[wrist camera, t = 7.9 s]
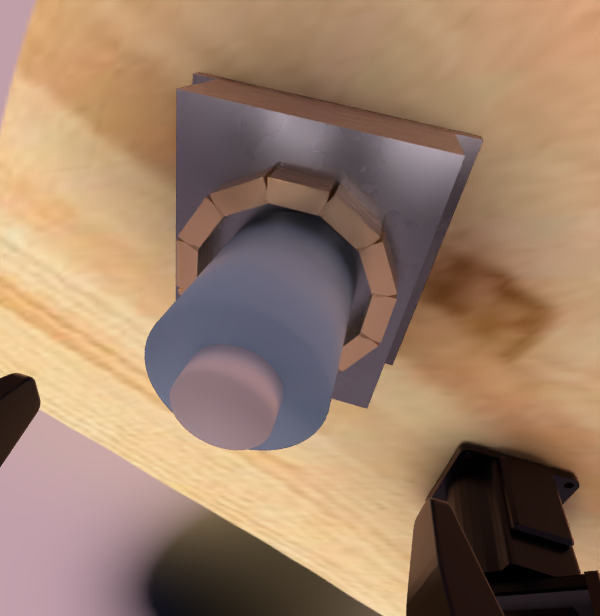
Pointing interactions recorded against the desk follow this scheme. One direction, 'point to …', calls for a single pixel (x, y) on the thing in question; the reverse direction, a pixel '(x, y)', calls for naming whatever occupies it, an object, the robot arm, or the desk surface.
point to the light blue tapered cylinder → (257, 336)
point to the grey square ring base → (321, 197)
